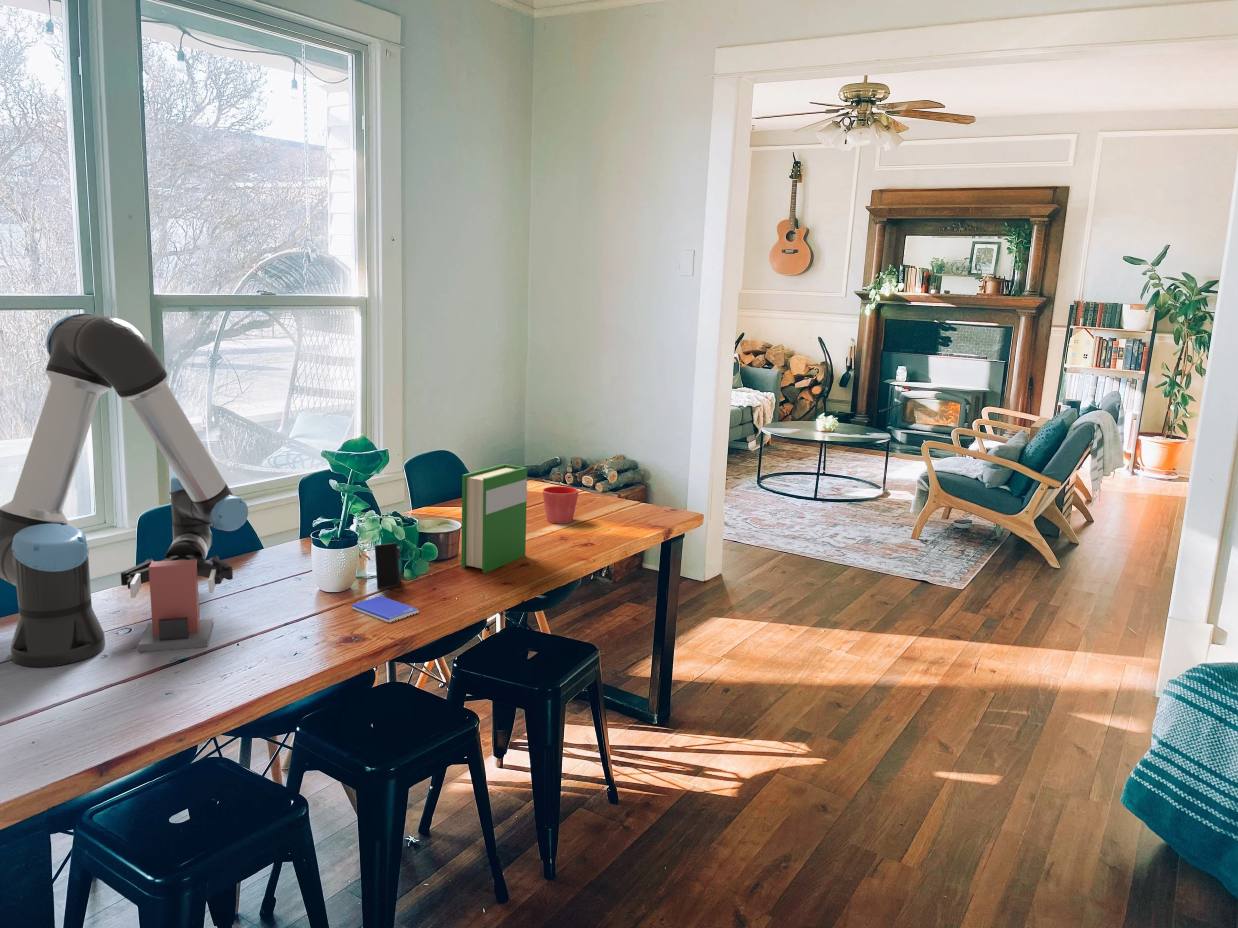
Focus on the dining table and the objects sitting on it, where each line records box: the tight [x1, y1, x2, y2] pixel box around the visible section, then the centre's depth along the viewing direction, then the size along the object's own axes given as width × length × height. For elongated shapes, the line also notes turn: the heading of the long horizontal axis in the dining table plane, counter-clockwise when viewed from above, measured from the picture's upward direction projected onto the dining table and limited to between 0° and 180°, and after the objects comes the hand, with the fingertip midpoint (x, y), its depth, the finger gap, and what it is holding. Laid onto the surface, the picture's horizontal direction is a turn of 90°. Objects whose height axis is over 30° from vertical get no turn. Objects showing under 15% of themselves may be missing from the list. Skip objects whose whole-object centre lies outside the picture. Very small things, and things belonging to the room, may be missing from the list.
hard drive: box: [351, 595, 420, 624], centre depth 201 cm, size 2×8×12 cm
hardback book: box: [460, 463, 528, 574], centre depth 237 cm, size 18×7×24 cm, turn 151°
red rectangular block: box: [149, 559, 201, 636], centre depth 180 cm, size 8×4×14 cm, turn 108°
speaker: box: [374, 542, 403, 590], centre depth 218 cm, size 8×6×10 cm
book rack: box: [137, 617, 214, 653], centre depth 181 cm, size 12×11×6 cm
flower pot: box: [542, 485, 579, 524], centre depth 281 cm, size 11×11×10 cm
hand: (172, 588), depth 177 cm, fingers open, 13 cm apart
